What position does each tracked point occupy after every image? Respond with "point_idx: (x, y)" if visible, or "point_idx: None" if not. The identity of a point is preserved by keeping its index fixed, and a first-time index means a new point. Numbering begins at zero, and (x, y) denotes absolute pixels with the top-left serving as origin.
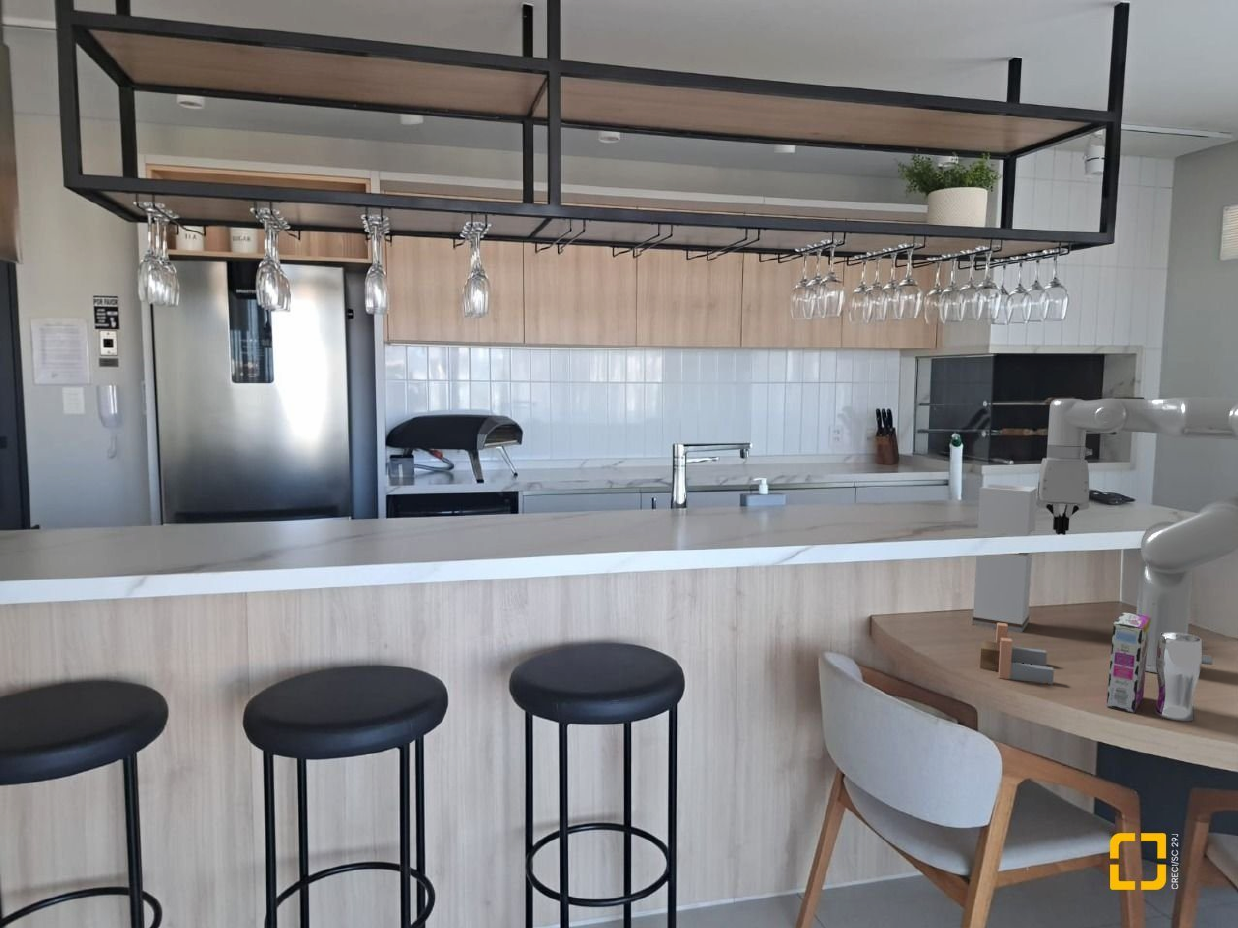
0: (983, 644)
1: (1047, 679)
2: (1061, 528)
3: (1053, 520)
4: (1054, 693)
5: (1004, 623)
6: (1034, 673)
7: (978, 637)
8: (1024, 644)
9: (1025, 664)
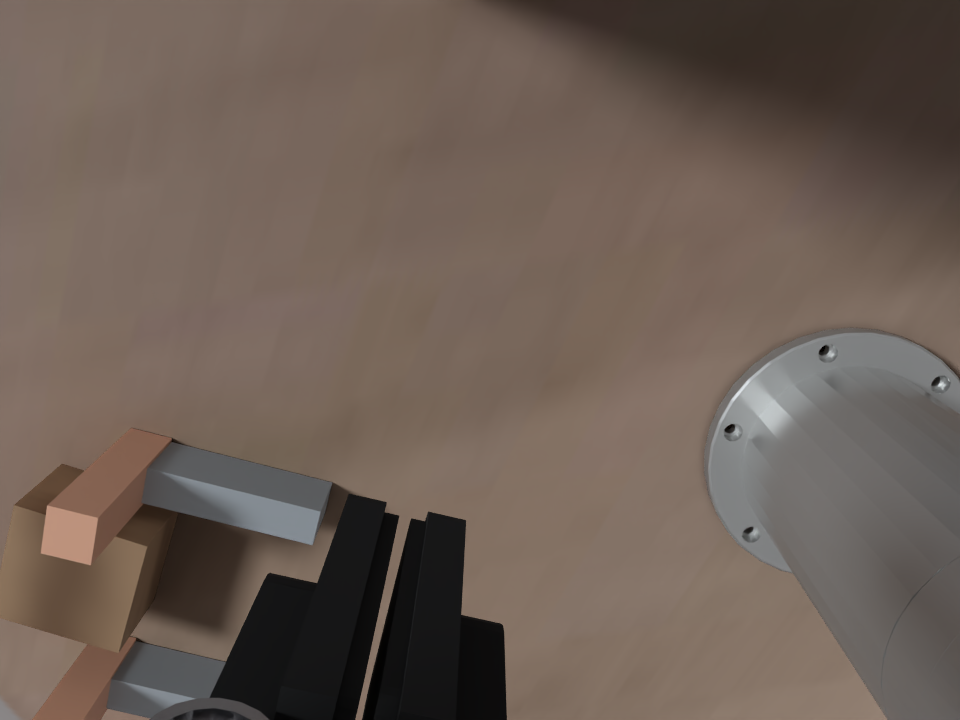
0: (10, 560)
1: None
2: (371, 687)
3: (225, 672)
4: None
5: (84, 516)
6: None
7: (116, 101)
8: (333, 200)
9: (168, 697)
